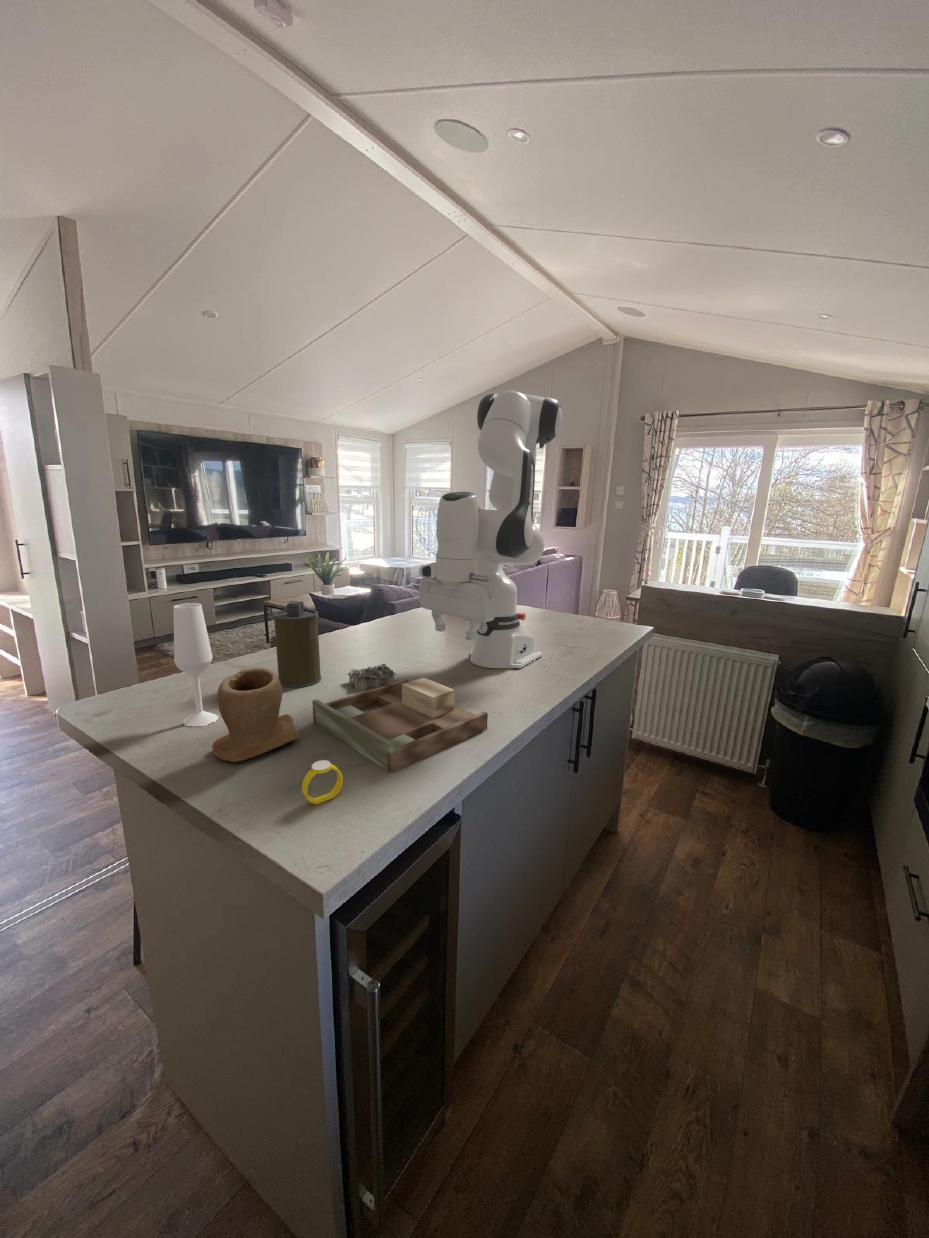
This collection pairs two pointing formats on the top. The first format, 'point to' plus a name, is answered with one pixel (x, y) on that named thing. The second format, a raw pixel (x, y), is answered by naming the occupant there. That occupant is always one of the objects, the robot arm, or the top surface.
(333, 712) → the brown shallow open piece
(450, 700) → the block
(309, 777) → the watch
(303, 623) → the canister
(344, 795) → the top surface
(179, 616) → the champagne flute
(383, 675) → the egg carton
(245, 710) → the clay pipe
